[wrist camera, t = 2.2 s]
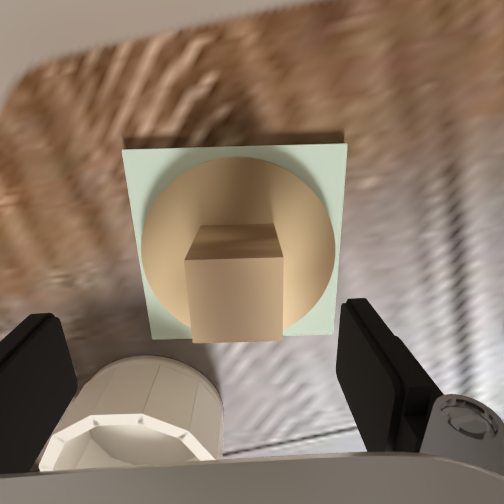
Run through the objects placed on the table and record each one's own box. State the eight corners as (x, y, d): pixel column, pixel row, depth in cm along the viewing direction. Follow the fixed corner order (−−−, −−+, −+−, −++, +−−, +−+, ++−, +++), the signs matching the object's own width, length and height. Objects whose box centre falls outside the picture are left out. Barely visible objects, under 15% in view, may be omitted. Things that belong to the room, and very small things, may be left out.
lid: (337, 153, 17) (380, 165, 12) (325, 328, 21) (354, 399, 16) (132, 159, 17) (77, 173, 12) (158, 332, 21) (126, 406, 16)
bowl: (219, 353, 23) (212, 411, 18) (227, 460, 26) (223, 531, 22) (67, 357, 23) (20, 417, 18) (97, 464, 26) (64, 536, 22)
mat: (344, 143, 18) (347, 143, 17) (331, 329, 22) (333, 334, 21) (125, 149, 18) (121, 150, 17) (154, 334, 22) (152, 339, 21)
